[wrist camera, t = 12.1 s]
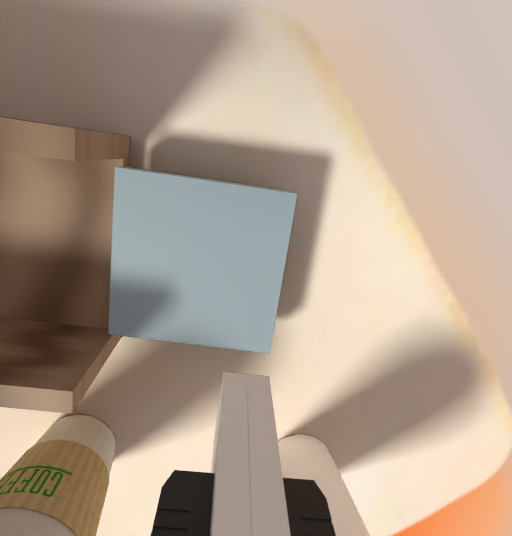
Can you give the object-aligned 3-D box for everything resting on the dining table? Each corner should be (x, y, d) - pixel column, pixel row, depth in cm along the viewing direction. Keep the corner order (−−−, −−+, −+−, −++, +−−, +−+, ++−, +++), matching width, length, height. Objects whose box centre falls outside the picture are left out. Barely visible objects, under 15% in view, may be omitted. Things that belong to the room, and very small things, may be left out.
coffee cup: (41, 381, 32) (-115, 564, 18) (151, 418, 34) (88, 613, 20) (13, 467, 35) (-145, 688, 21) (116, 498, 36) (37, 723, 22)
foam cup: (228, 470, 36) (222, 638, 24) (289, 403, 34) (318, 547, 22) (304, 514, 38) (336, 690, 26) (367, 453, 36) (434, 611, 24)
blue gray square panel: (108, 334, 28) (269, 353, 29) (114, 166, 24) (297, 193, 25) (118, 320, 30) (267, 339, 31) (125, 165, 27) (293, 190, 27)
